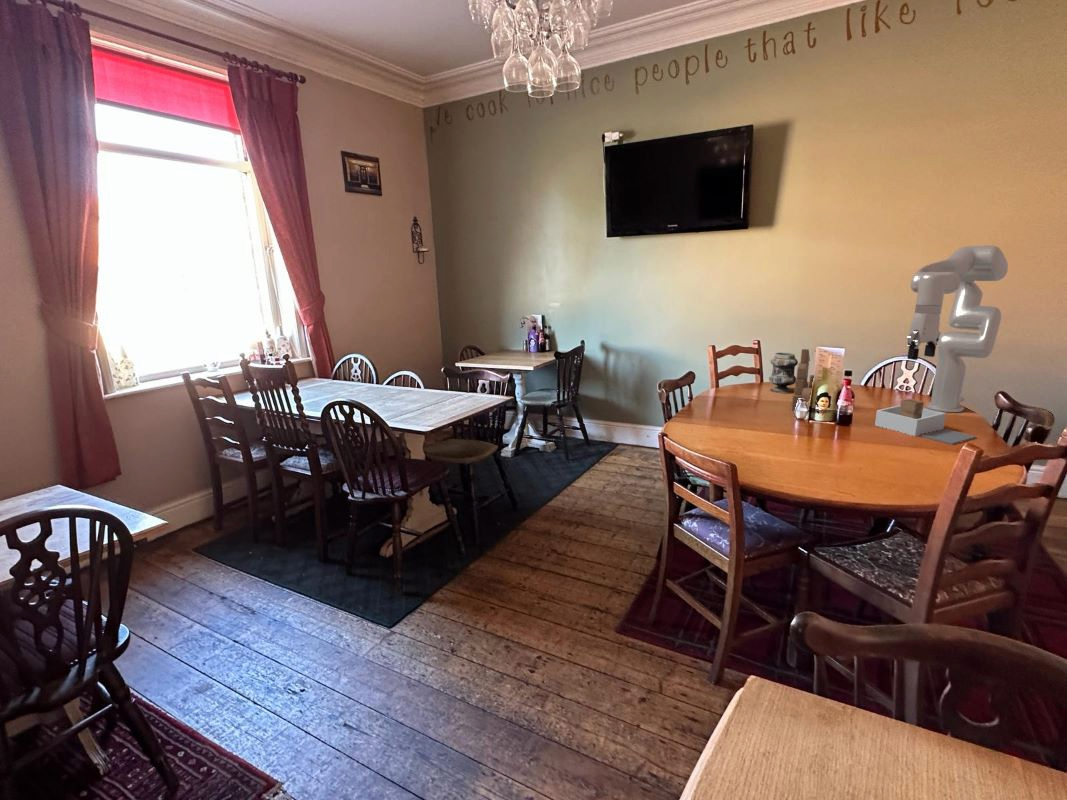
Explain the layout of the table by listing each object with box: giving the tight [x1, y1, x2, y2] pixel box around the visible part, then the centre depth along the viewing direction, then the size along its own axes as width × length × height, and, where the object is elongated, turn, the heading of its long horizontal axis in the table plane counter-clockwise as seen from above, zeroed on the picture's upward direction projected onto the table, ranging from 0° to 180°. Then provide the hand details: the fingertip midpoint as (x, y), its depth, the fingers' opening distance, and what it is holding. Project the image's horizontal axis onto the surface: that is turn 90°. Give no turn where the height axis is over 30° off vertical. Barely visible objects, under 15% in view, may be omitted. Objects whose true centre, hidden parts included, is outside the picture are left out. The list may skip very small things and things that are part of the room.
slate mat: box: [920, 428, 977, 445], centre depth 189 cm, size 14×10×1 cm
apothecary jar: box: [768, 351, 799, 394], centre depth 257 cm, size 12×12×18 cm
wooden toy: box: [791, 348, 815, 412], centre depth 228 cm, size 15×7×25 cm, turn 144°
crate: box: [874, 404, 947, 437], centre depth 201 cm, size 17×15×6 cm
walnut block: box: [899, 398, 925, 419], centre depth 200 cm, size 5×5×8 cm
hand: (920, 357), depth 194 cm, fingers open, 9 cm apart
